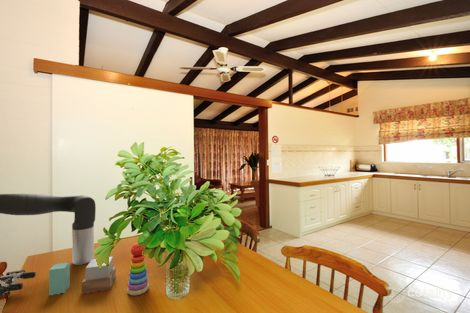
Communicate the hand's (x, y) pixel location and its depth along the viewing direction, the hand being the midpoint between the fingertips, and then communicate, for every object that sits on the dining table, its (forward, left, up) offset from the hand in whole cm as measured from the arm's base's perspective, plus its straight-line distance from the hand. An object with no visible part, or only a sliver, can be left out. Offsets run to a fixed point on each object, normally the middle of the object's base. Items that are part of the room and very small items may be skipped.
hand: (28, 279), depth 88 cm
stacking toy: (+9, +40, -6) cm, 42 cm away
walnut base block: (0, +24, -6) cm, 25 cm away
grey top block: (0, +24, -1) cm, 24 cm away
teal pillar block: (0, +10, -6) cm, 12 cm away
